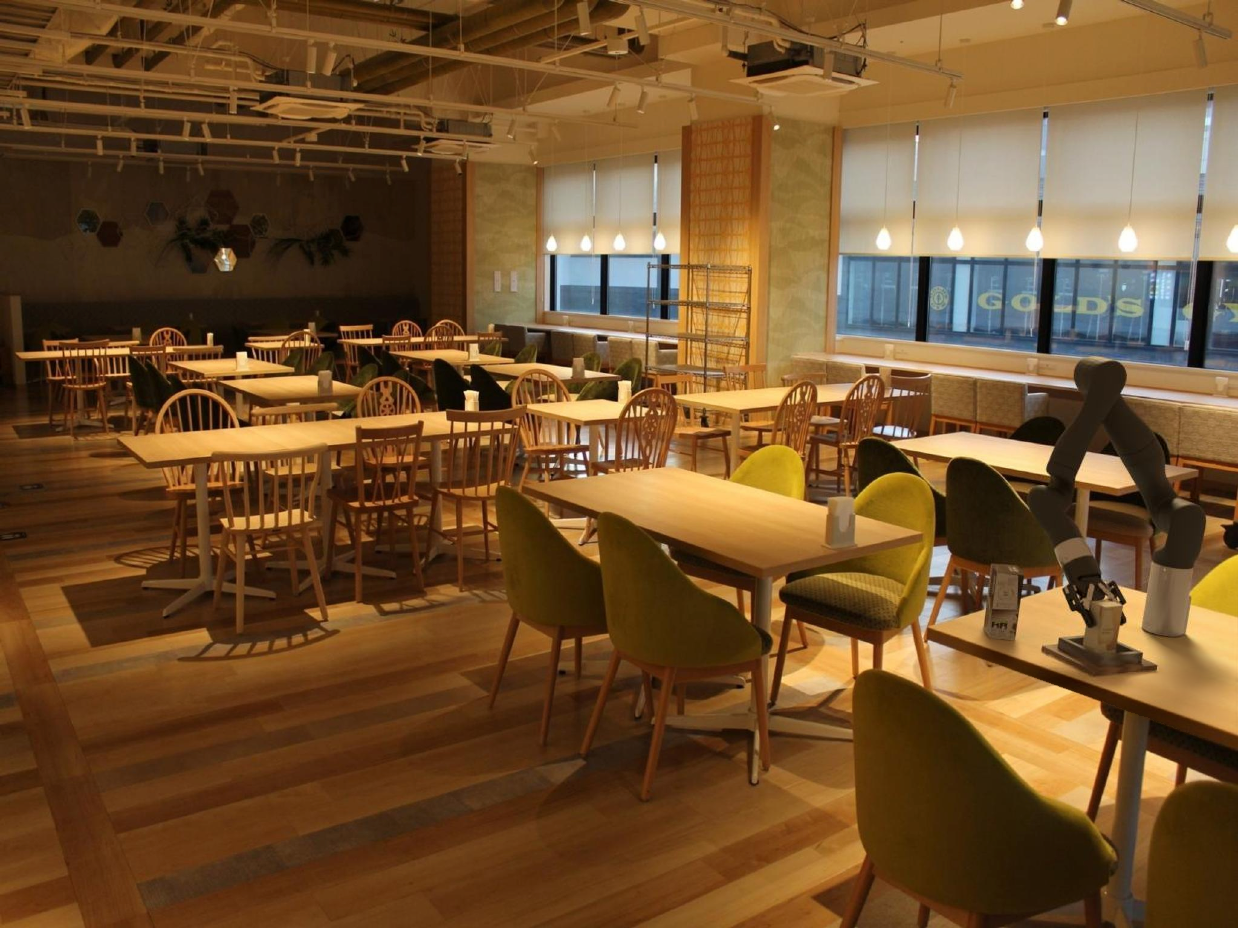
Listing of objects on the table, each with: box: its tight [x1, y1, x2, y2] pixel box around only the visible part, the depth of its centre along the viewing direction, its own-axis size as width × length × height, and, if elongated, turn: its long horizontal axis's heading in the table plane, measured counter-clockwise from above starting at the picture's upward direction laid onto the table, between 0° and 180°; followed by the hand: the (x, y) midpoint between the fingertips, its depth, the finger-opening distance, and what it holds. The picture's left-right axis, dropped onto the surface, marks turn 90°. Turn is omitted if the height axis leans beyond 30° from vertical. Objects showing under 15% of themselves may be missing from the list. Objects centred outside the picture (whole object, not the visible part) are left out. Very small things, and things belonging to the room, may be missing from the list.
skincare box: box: [1083, 600, 1124, 654], centre depth 242 cm, size 6×4×12 cm
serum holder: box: [1041, 634, 1159, 678], centre depth 243 cm, size 18×16×4 cm
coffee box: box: [983, 563, 1025, 642], centre depth 256 cm, size 9×6×16 cm
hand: (1108, 625), depth 240 cm, fingers open, 8 cm apart
